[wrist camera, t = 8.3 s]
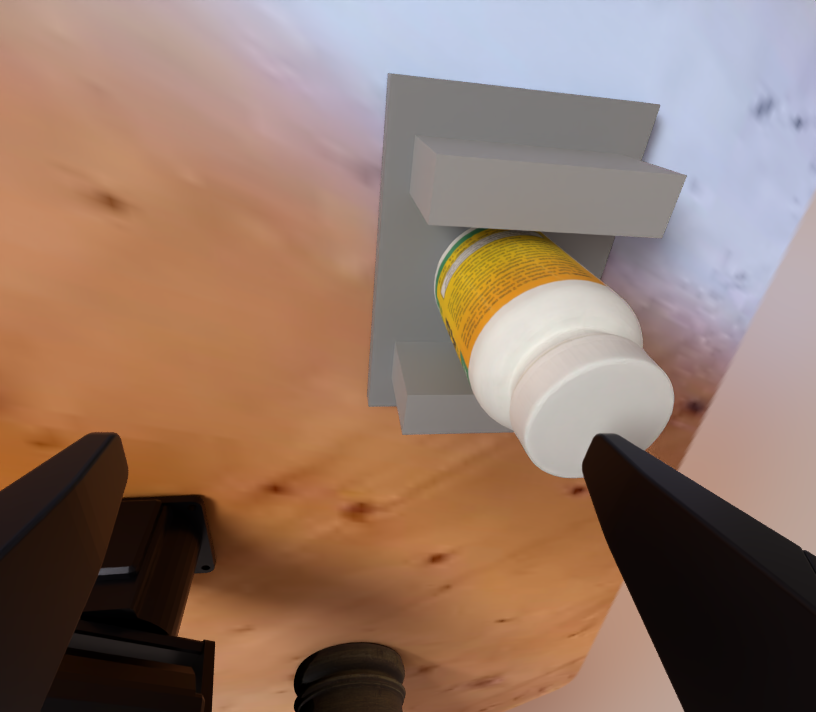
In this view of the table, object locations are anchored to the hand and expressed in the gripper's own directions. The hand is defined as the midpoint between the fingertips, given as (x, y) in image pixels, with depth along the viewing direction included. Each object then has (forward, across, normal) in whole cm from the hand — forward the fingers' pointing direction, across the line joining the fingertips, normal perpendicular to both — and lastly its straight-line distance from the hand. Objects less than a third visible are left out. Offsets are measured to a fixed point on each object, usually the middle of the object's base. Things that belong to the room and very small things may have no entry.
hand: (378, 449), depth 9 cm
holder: (+12, -6, +1) cm, 14 cm away
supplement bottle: (+11, -6, +1) cm, 13 cm away
